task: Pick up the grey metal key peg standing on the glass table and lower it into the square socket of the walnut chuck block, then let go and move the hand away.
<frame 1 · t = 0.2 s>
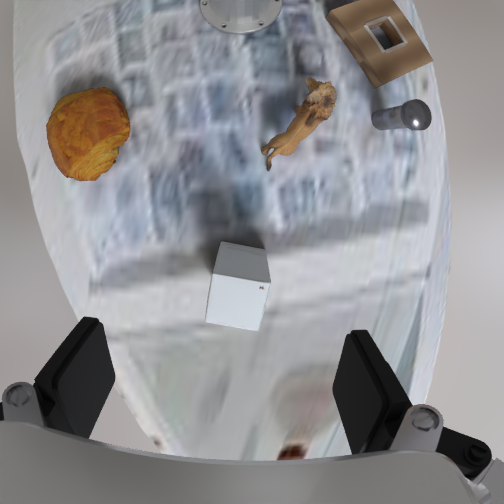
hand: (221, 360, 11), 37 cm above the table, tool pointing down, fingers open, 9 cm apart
croissant: (94, 131, 42), on the table
lion figurine: (292, 126, 42), on the table
chuck block: (377, 40, 37), on the table
supplement box: (239, 265, 49), on the table
key peg: (380, 120, 42), on the table
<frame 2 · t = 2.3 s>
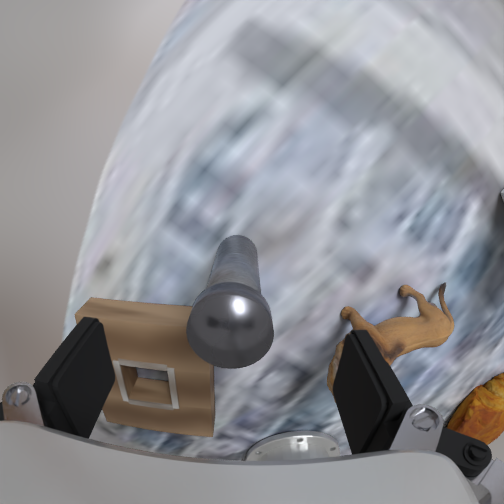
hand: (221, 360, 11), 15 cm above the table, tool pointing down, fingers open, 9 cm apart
croissant: (477, 404, 34), on the table
lion figurine: (378, 315, 27), on the table
chuck block: (155, 363, 28), on the table
key peg: (237, 254, 25), on the table
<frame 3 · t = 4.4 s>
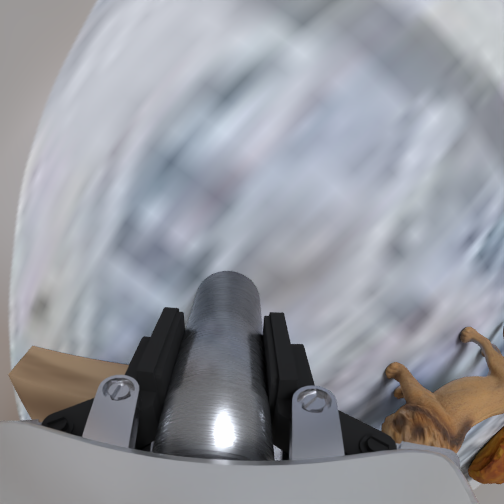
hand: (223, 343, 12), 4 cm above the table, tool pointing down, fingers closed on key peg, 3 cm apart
lion figurine: (429, 367, 18), on the table
chuck block: (124, 427, 19), on the table
key peg: (227, 300, 15), on the table, touching gripper
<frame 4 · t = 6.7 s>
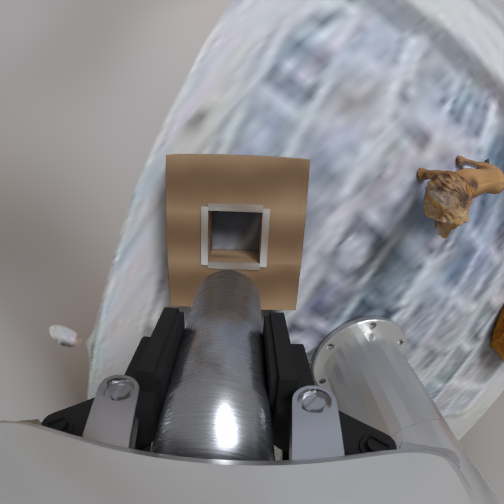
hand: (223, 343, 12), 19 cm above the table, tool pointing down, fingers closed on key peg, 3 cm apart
lion figurine: (443, 182, 29), on the table
chuck block: (235, 227, 30), on the table
key peg: (227, 299, 15), point 15 cm above the table, touching gripper
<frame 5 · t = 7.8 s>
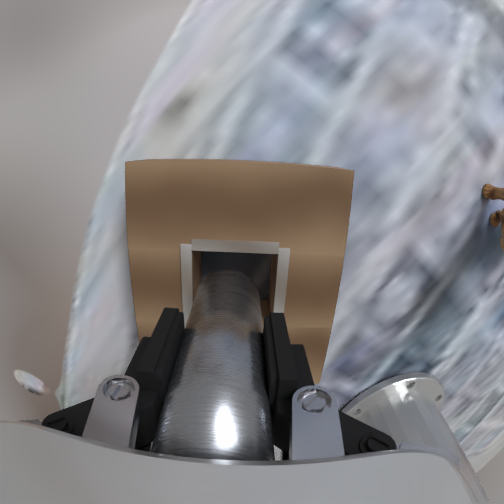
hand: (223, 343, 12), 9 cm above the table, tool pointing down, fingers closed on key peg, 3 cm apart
chuck block: (235, 267, 20), on the table
key peg: (227, 299, 15), point 5 cm above the table, touching gripper
when the fingers open (5 cm above the table, at t = 9.0 s): key peg stays where it is, resting in chuck block.
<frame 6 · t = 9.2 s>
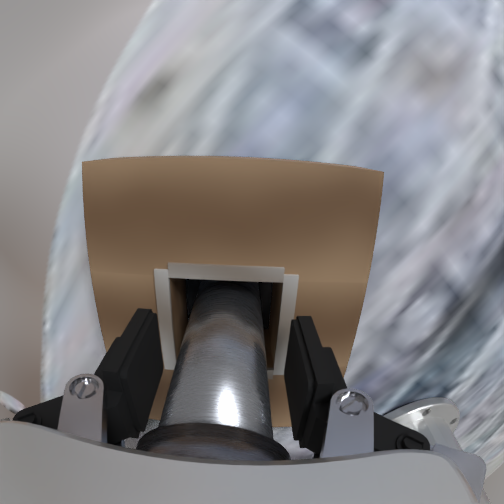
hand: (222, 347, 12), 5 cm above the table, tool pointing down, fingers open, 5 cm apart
chuck block: (228, 291, 16), on the table
key peg: (229, 291, 16), resting in chuck block
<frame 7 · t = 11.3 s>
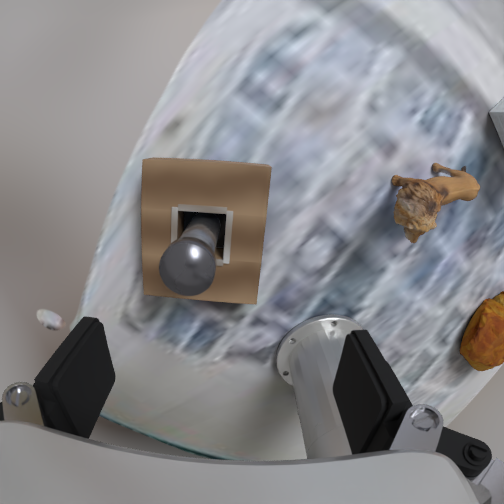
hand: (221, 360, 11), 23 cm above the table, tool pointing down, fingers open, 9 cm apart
croissant: (486, 324, 40), on the table
lion figurine: (418, 188, 32), on the table
chuck block: (205, 225, 32), on the table
key peg: (205, 225, 32), resting in chuck block
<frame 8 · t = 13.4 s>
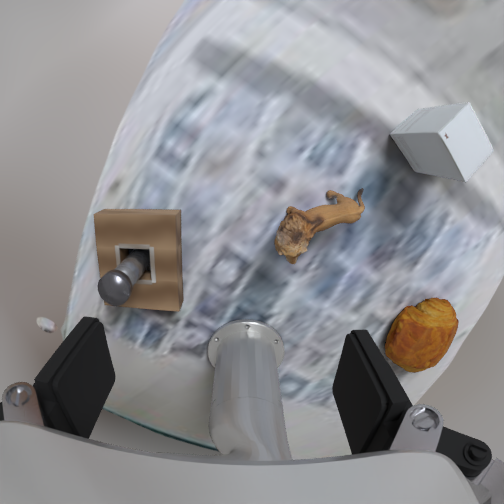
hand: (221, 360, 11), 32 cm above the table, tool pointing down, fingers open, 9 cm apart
croissant: (415, 328, 50), on the table
lion figurine: (315, 214, 42), on the table
chuck block: (143, 255, 43), on the table
supplement box: (416, 140, 39), on the table
key peg: (143, 255, 43), resting in chuck block
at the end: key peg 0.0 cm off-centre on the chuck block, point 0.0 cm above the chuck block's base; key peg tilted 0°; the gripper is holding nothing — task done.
